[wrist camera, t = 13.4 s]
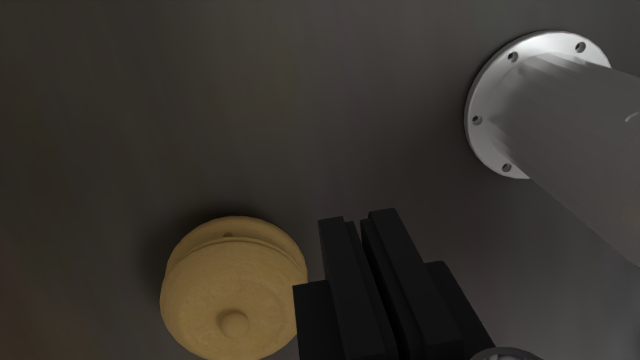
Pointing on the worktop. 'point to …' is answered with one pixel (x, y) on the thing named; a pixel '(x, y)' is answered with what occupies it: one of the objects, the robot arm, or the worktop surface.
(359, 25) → the worktop surface
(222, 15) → the worktop surface
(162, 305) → the pot
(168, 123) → the worktop surface
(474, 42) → the worktop surface
